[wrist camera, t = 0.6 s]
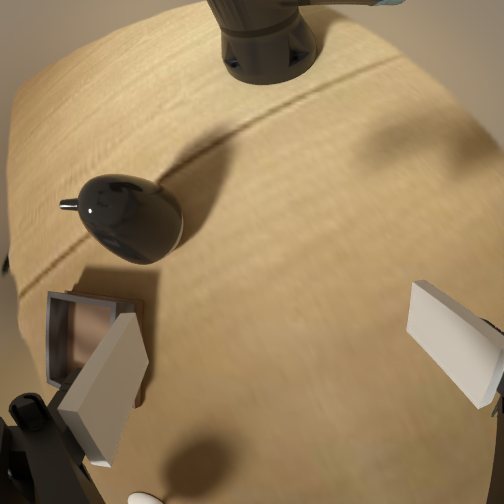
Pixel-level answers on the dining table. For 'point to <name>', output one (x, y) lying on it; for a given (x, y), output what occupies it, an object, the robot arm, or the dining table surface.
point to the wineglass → (142, 499)
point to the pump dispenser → (129, 216)
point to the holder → (81, 330)
